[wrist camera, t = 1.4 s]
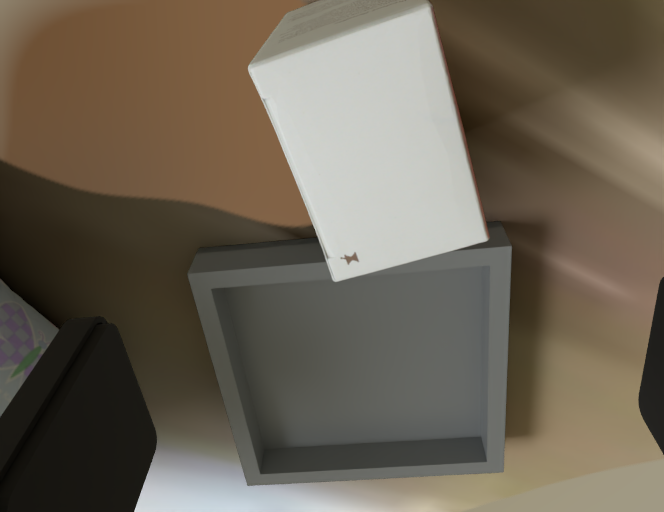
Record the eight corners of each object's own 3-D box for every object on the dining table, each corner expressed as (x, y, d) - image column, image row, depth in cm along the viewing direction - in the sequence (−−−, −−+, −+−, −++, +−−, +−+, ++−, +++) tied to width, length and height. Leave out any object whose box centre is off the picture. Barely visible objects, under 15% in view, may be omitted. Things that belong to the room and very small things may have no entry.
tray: (500, 221, 31) (511, 245, 29) (495, 439, 39) (503, 472, 37) (198, 248, 32) (187, 273, 30) (253, 453, 40) (247, 485, 38)
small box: (450, 139, 29) (495, 247, 20) (340, 173, 30) (334, 290, 21) (407, -36, 25) (436, -2, 16) (282, 9, 26) (243, 66, 17)
